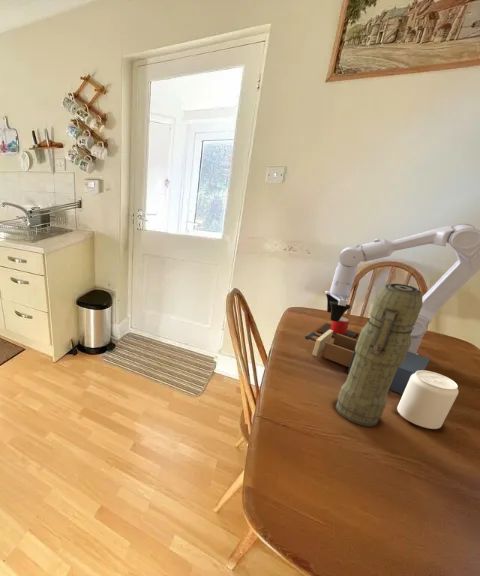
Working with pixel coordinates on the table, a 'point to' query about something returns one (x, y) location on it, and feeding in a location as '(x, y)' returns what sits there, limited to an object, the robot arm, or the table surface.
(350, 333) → the dark brown flat plate
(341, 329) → the red can
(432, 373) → the white cylinder
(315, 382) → the table surface
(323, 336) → the drawer
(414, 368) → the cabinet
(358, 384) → the thermos
